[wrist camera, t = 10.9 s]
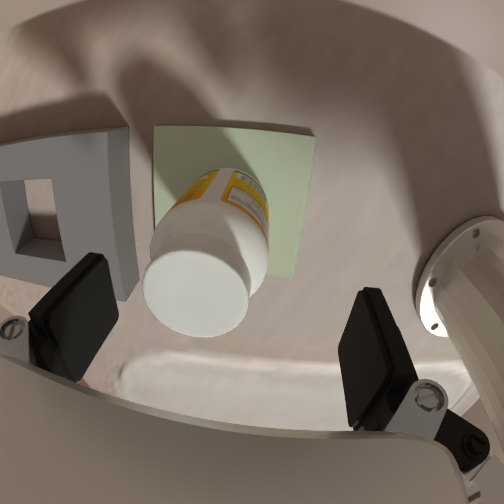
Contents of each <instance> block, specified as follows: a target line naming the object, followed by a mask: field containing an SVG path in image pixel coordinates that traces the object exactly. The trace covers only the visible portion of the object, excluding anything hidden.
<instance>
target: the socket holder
mask: <svg viewBox="0 0 504 504" xmlns="http://www.w3.org/2000/svg"><path fill="white" fill-rule="evenodd" d="M32 179H52V185H53V193H54V200H55V207H56V213H57V219H58V225H59V230H60V235H61V240H62V241H57V240H48V239H39V238H34V235H33V231H32V226H31V222H30V217H29V211H28V206H27V200H26V194H25V187H24V180H32ZM89 252H94V253H100V254H103V255H104V256H105V258H106V259H107V260H108V263H109V269H110V274H111V280H112V285H113V289H114V294H115V299H116V300H117V301H123V302H126V301H127V299H128V297H129V296H130V294H131V292H132V291H133V289H134V288H135V286H136V284H137V283H138V281H139V280H140V279H139V272H138V265H137V257H136V248H135V239H134V229H133V218H132V205H131V188H130V164H129V127H112V128H99V129H88V130H78V131H70V132H62V133H54V134H48V135H41V136H35V137H29V138H24V139H19V140H14V141H9V142H4V143H0V275H2V276H6V277H10V278H14V279H18V280H22V281H26V282H30V283H34V284H38V285H43V286H47V287H53V286H54V285H55V284H56V283H57V282H58V281H59V280H60V279H61V278H62V277H63V276H64V275H65V274H66V273H68V272H69V271H70V270H71V269H72V268H73V267H74V266H75V265H76V264H77V263H78V262H79V261H80V260H81V259H82V258H83V257H84V256H85V255H86V254H88V253H89Z"/></svg>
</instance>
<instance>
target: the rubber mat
mask: <svg viewBox="0 0 504 504" xmlns="http://www.w3.org/2000/svg"><path fill="white" fill-rule="evenodd" d="M315 142H316V137H315V136H309V135H302V134H294V133H286V132H278V131H269V130H258V129H246V128H233V127H214V126H154V141H153V172H154V207H155V227H157V225H158V223H159V222H160V221H161V219H162V218H163V217H164V216H165V214H166V213H167V212H168V211H169V210H170V209H171V207H172V206H173V205H174V204H175V203H176V202H177V201H178V199H179V198H180V197H181V196H182V195H183V194H184V192H185V191H186V190H187V189H188V188H189V187H190V186H191V185H192V184H193V183H194V182H195V181H196V180H197V179H198V178H199V177H200V176H201V175H203V174H205V173H206V172H208V171H211V170H214V169H218V168H233V169H238V170H241V171H243V172H246V173H247V174H249V175H251V176H252V177H253V178H254V179H255V180H256V181H257V182H258V183H259V184H260V185H261V187H262V188H263V190H264V192H265V194H266V197H267V200H268V208H269V261H268V268H267V272H266V276H277V277H288V278H293V277H294V272H295V266H296V261H297V255H298V250H299V244H300V239H301V233H302V227H303V221H304V215H305V209H306V203H307V197H308V190H309V184H310V177H311V170H312V164H313V156H314V149H315Z"/></svg>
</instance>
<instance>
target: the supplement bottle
mask: <svg viewBox="0 0 504 504" xmlns="http://www.w3.org/2000/svg"><path fill="white" fill-rule="evenodd" d="M150 258H151V262H150V263H149V265H148V267H147V268H146V271H145V274H144V277H143V283H142V287H143V295H144V298H145V301H146V303H147V305H148V307H149V309H150V310H151V312H152V313H153V314H154V315H155V317H156V318H157V319H158V320H160V321H161V322H162V323H163V324H165V325H166V326H167V327H169V328H171V329H173V330H174V331H177V332H179V333H182V334H185V335H188V336H194V337H213V336H218V335H221V334H224V333H226V332H228V331H230V330H232V329H233V328H235V327H236V326H237V325H238V324H239V323H240V322H241V320H242V319H243V317H244V316H245V314H246V312H247V308H248V304H249V297H250V296H251V295H253V294H254V293H255V292H256V290H257V289H258V288H259V287H260V285H261V283H262V282H263V280H264V277H265V275H266V272H267V268H268V261H269V208H268V200H267V197H266V194H265V192H264V190H263V188H262V187H261V185H260V184H259V183H258V182H257V181H256V180H255V179H254V178H253V177H252V176H251V175H249V174H247V173H246V172H243V171H241V170H238V169H233V168H218V169H214V170H211V171H208V172H206V173H205V174H203V175H201V176H200V177H199V178H198V179H197V180H196V181H195V182H194V183H193V184H192V185H191V186H190V187H189V188H188V189H187V190H186V191H185V192H184V194H183V195H182V196H181V197H180V198H179V199H178V201H177V202H176V203H175V204H174V205H173V206H172V207H171V209H170V210H169V211H168V212H167V213H166V214H165V216H164V217H163V218H162V219H161V221H160V222H159V223H158V225H157V227H156V229H155V231H154V233H153V236H152V239H151V244H150Z"/></svg>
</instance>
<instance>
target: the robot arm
mask: <svg viewBox="0 0 504 504" xmlns="http://www.w3.org/2000/svg"><path fill="white" fill-rule="evenodd" d="M415 303H416V312H417V314H418V317H419V319H420V321H421V323H422V324H423V326H424V328H425V329H426V330H427V331H428V332H429V333H431V334H434V335H436V336H441V337H449V338H450V340H451V341H452V343H453V345H454V347H455V348H456V350H457V352H458V354H459V356H460V357H461V359H462V361H463V363H464V365H465V367H466V369H467V371H468V373H469V375H470V377H471V379H472V381H473V383H474V385H475V387H476V389H477V391H478V393H479V395H480V397H481V399H482V402H483V403H484V406H485V408H486V411H487V413H488V415H489V417H490V420H491V422H492V425H493V427H494V430H495V432H496V435H497V437H498V440H499V442H500V445H501V448H502V451H503V453H504V221H502V220H501V219H499V218H496V217H493V216H481V217H478V218H474V219H472V220H470V221H468V222H466V223H464V224H462V225H461V226H459V227H458V228H457V229H456V230H454V231H453V232H452V233H451V234H450V235H449V236H448V237H447V238H446V239H445V240H444V241H443V242H442V243H441V244H440V245H439V247H438V248H437V249H436V250H435V252H434V253H433V254H432V256H431V258H430V259H429V261H428V263H427V264H426V266H425V268H424V271H423V273H422V275H421V277H420V280H419V284H418V287H417V291H416V300H415ZM28 314H29V316H30V318H31V320H30V321H29V322H28V321H27V319H26V318H24V317H22V316H12V317H10V318H7V319H6V320H4V322H2V323H1V324H0V504H504V464H503V463H502V462H501V461H500V460H499V459H498V457H497V456H496V455H495V454H494V453H493V454H492V455H490V454H489V451H490V443H489V440H488V438H487V436H486V435H485V433H483V432H482V431H481V430H480V429H478V428H477V427H475V426H474V425H472V424H470V423H469V422H467V421H466V420H464V419H463V418H461V417H460V416H458V415H457V414H455V413H454V412H452V411H450V410H449V409H447V407H448V396H447V394H446V391H445V390H444V389H443V387H442V386H441V385H439V384H438V383H437V382H435V381H432V380H428V379H421V380H419V379H418V376H417V374H416V371H415V368H414V365H413V363H412V360H411V357H410V355H409V352H408V350H407V347H406V345H405V342H404V340H403V337H402V335H401V332H400V330H399V328H398V326H397V325H396V323H395V321H394V318H393V316H392V314H391V311H390V309H389V307H388V305H387V302H386V300H385V298H384V296H383V293H382V291H381V289H379V288H371V287H364V289H363V290H362V291H358V293H357V296H356V299H355V302H354V305H353V307H352V310H351V313H350V316H349V319H348V321H347V324H346V327H345V329H344V332H343V335H342V337H341V340H340V342H339V346H338V355H339V361H340V368H341V374H342V381H343V387H344V394H345V401H346V409H347V417H348V424H349V426H350V427H353V431H311V430H290V429H276V428H265V427H255V426H247V425H239V424H232V423H225V422H219V421H213V420H207V419H201V418H196V417H191V416H186V415H181V414H177V413H172V412H168V411H164V410H160V409H156V408H152V407H148V406H144V405H141V404H137V403H134V402H130V401H127V400H124V399H120V398H117V397H114V396H111V395H108V394H105V393H102V392H99V391H96V390H93V389H91V388H88V387H85V386H82V385H80V384H77V383H76V382H77V381H80V380H81V379H82V377H83V375H84V374H85V372H86V370H87V369H88V367H89V365H90V364H91V362H92V360H93V359H94V357H95V355H96V354H97V352H98V351H99V349H100V347H101V346H102V344H103V342H104V341H105V339H106V338H107V336H108V335H109V333H110V331H111V330H112V328H113V327H114V325H115V324H116V322H117V320H118V317H119V312H118V308H117V303H116V299H115V294H114V289H113V285H112V280H111V274H110V269H109V263H108V260H107V259H106V258H105V256H104V255H103V254H100V253H94V252H89V253H88V254H86V255H85V256H84V257H83V258H82V259H81V260H80V261H79V262H78V263H77V264H76V265H75V266H74V267H73V268H72V269H71V270H70V271H69V272H68V273H66V274H65V275H64V276H63V277H62V278H61V279H60V280H59V281H58V282H57V283H56V284H55V285H54V286H53V287H52V288H51V289H50V291H49V292H48V293H47V294H46V295H45V296H44V297H43V298H42V299H41V300H40V301H39V302H38V303H37V304H36V305H35V306H34V307H33V308H32V310H31V311H30V312H29V313H28Z"/></svg>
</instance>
